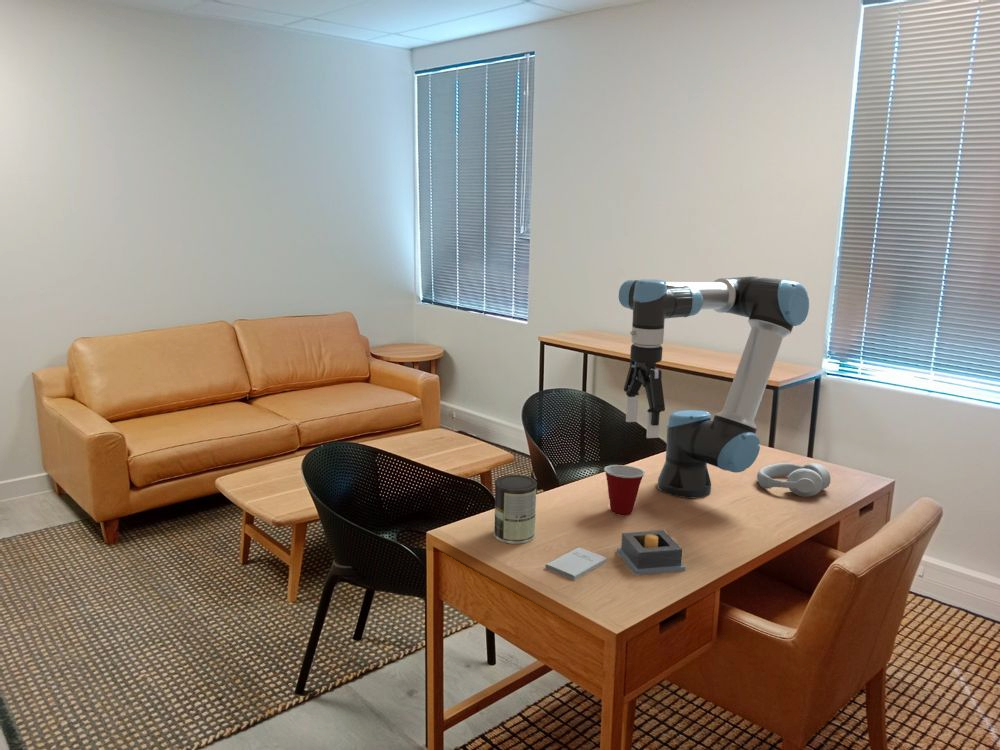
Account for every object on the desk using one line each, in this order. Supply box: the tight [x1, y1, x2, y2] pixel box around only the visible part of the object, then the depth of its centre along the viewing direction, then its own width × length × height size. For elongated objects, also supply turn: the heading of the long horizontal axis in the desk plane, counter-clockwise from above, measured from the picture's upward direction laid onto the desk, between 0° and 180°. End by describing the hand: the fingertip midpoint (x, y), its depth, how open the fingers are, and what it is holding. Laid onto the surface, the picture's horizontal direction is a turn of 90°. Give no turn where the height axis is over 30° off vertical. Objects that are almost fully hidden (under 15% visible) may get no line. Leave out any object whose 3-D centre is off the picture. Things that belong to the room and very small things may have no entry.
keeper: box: [616, 534, 686, 576], centre depth 181 cm, size 12×12×6 cm
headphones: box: [756, 462, 831, 498], centre depth 230 cm, size 18×8×20 cm
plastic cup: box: [603, 464, 646, 517], centre depth 209 cm, size 11×11×12 cm
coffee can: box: [493, 474, 538, 545], centre depth 192 cm, size 10×10×14 cm
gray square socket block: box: [620, 529, 683, 569], centre depth 181 cm, size 10×10×4 cm
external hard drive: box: [544, 547, 607, 581], centre depth 179 cm, size 2×8×12 cm
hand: (641, 429), depth 192 cm, fingers open, 13 cm apart
